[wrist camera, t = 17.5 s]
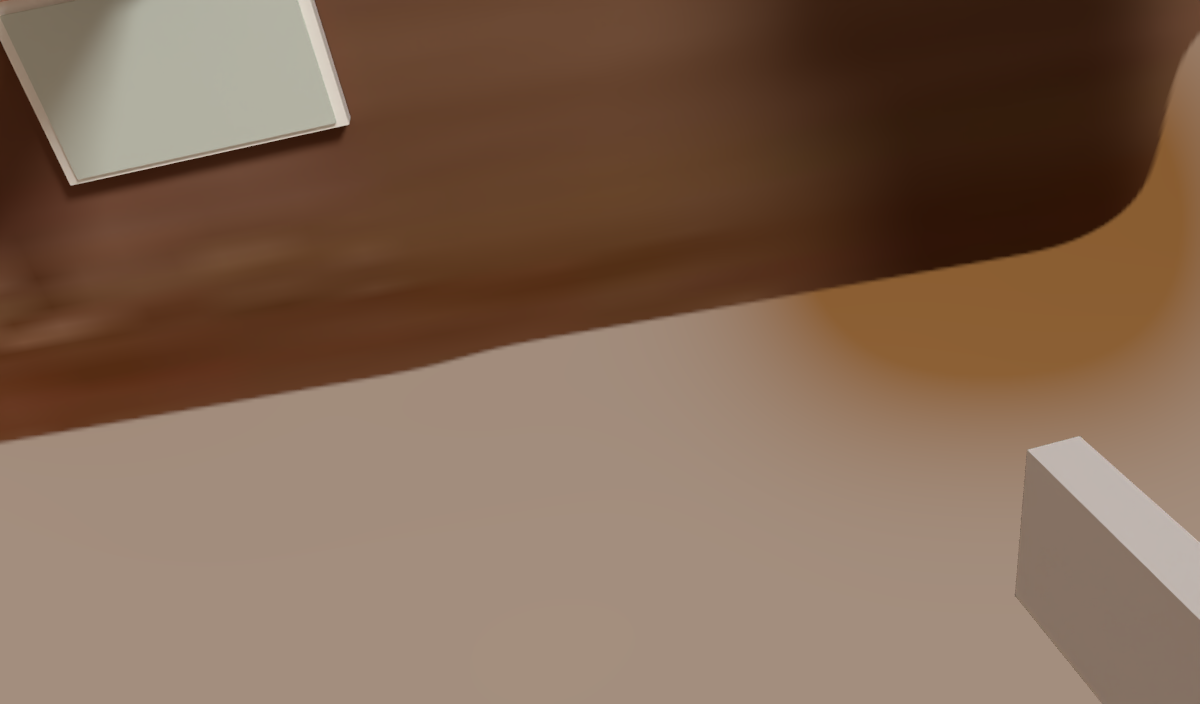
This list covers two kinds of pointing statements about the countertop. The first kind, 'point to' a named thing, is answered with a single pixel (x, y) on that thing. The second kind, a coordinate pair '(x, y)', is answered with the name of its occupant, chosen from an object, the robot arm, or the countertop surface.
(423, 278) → the countertop surface
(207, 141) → the board
